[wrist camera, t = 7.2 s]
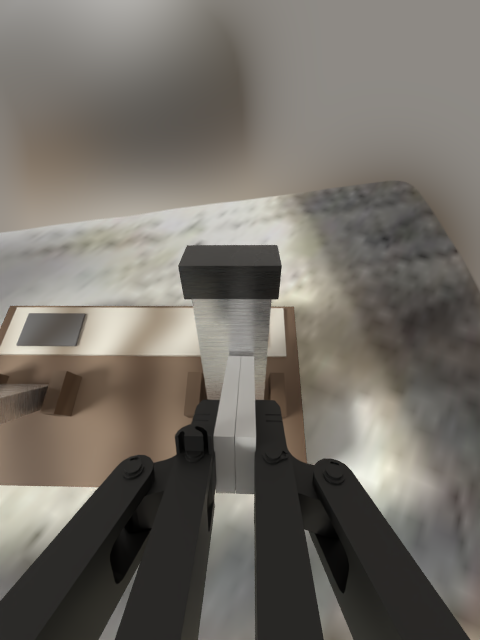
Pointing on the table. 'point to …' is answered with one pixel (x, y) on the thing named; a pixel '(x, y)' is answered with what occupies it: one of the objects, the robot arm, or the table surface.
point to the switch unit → (118, 387)
